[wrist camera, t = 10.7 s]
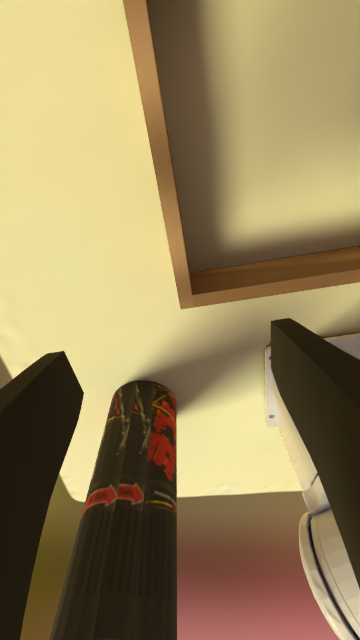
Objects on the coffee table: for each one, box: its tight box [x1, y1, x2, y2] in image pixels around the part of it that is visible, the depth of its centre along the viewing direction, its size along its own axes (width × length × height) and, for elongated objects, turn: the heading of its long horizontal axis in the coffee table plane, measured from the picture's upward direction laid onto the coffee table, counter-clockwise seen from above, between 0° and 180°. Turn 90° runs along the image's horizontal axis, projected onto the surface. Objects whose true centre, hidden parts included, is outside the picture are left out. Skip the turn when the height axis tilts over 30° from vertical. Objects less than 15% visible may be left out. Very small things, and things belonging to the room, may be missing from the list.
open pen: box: [123, 0, 360, 309], centre depth 14 cm, size 16×16×4 cm
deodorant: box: [50, 381, 177, 640], centre depth 19 cm, size 6×6×15 cm
